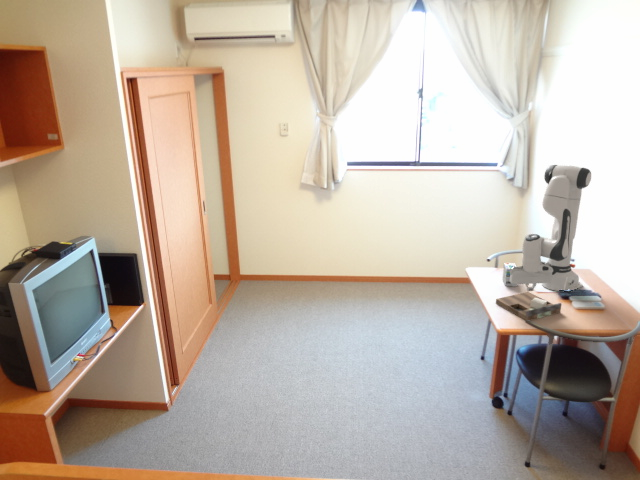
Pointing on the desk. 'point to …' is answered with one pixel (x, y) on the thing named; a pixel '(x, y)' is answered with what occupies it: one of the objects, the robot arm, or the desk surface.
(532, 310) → the board
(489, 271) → the desk surface
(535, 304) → the block
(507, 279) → the light bulb box
